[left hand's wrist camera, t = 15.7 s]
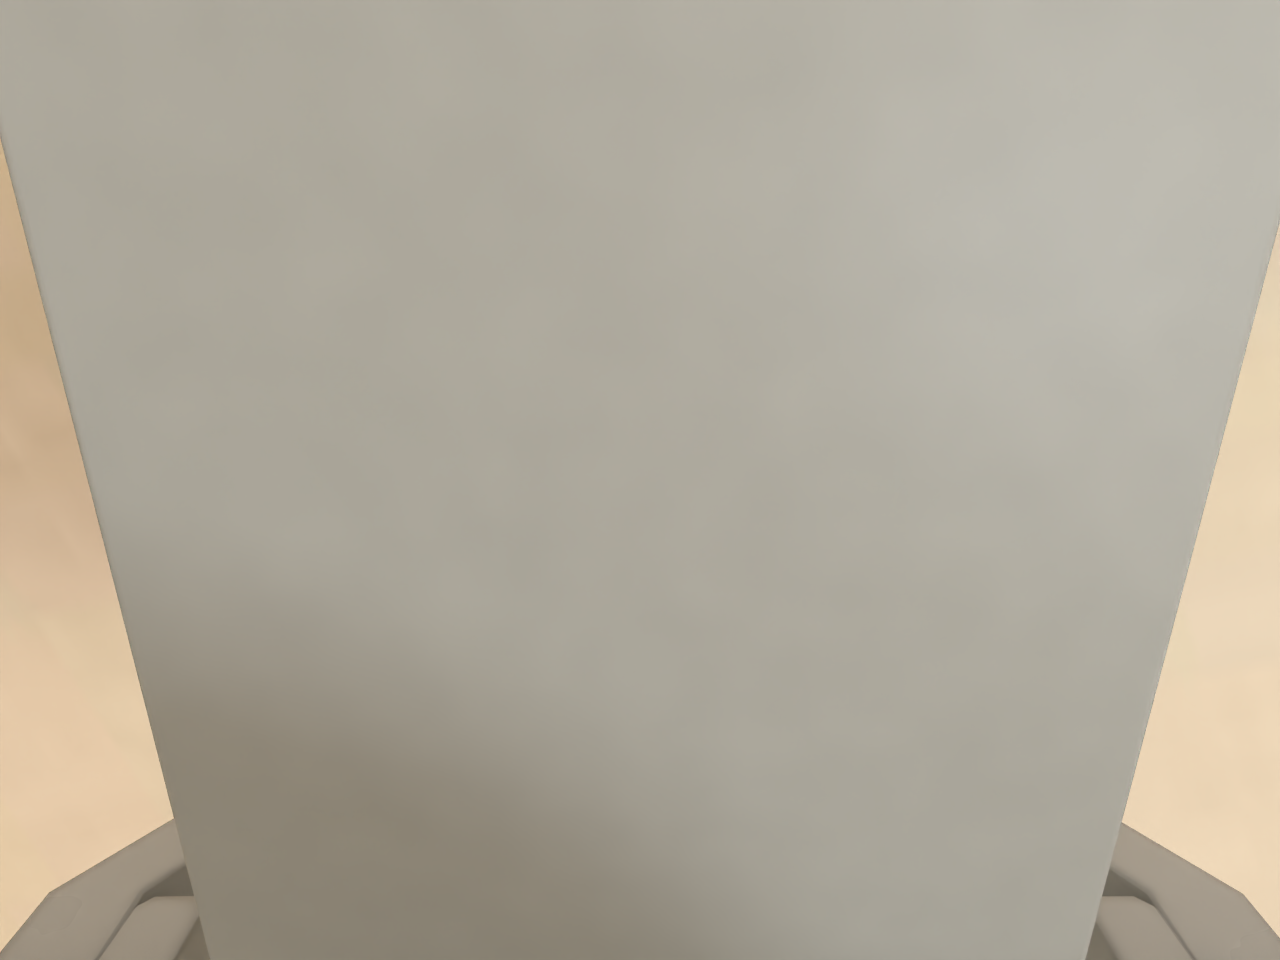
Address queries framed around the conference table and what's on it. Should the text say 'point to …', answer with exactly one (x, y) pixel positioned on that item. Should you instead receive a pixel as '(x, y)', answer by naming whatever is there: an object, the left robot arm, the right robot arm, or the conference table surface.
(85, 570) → the conference table surface
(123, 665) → the conference table surface
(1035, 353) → the bar
